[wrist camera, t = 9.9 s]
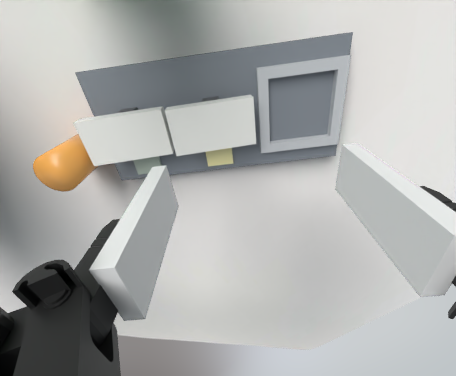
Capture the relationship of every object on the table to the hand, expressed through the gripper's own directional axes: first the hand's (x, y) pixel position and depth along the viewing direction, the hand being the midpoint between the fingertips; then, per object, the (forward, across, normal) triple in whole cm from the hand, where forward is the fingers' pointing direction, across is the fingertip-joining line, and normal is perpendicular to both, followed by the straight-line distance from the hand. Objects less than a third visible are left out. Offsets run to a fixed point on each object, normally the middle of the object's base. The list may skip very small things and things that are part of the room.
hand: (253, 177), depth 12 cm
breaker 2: (+11, -3, 0) cm, 11 cm away
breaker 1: (+11, -11, 0) cm, 16 cm away
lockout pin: (+16, -18, -2) cm, 24 cm away
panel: (+16, -2, 0) cm, 16 cm away
